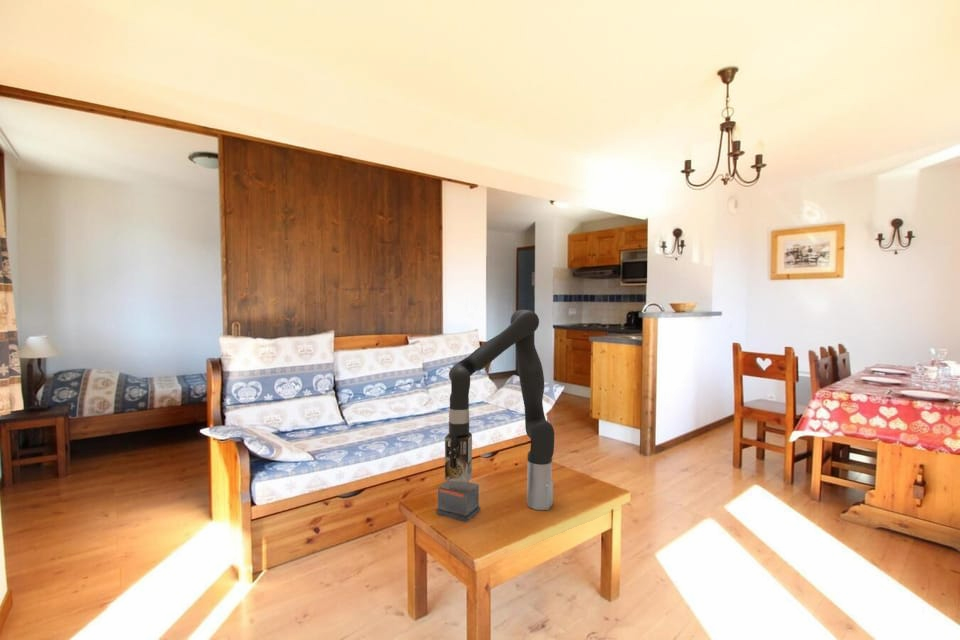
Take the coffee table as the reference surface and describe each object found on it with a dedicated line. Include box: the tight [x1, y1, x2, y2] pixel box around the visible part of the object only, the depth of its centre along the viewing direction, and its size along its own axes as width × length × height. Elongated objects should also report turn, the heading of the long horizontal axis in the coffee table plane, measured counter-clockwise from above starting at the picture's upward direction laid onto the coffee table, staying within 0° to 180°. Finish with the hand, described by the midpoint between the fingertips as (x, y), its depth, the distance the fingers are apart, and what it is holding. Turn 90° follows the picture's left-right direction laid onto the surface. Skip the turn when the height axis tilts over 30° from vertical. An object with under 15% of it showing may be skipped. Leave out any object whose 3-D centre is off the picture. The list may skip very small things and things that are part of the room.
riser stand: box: [435, 481, 481, 523], centre depth 166 cm, size 13×10×10 cm
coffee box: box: [444, 432, 473, 482], centre depth 165 cm, size 9×6×16 cm
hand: (458, 464), depth 165 cm, fingers closed on coffee box, 7 cm apart
